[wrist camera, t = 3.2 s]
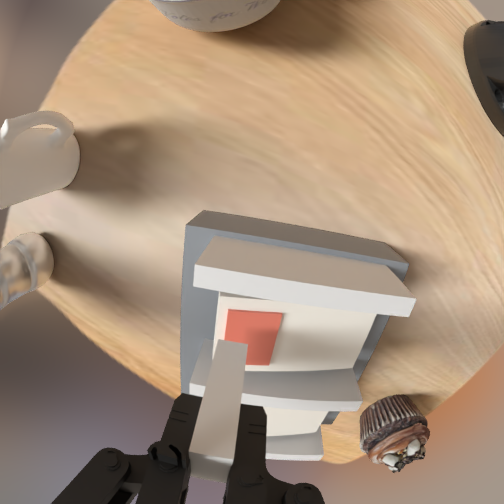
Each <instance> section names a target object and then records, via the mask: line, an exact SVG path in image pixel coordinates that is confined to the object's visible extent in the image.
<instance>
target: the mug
mask: <svg viewBox="0 0 504 504" xmlns="http://www.w3.org/2000/svg"><path fill="white" fill-rule="evenodd" d="M41 124H49V125H53V126H55V127H57V129H48V128H31V127H33V126H36V125H41ZM74 132H75V128H74V125H73V123H72V122H71V121H70V120H69V119H68V118H66V117H65V116H64V115H62V114H61V113H58V112H55V111H39V112H33V113H29V114H26V115H23V116H19V117H16V118H13V119H6V120H5V122H4V124H3V126H2V128H0V210H1V209H4V208H6V207H9V206H11V205H14V204H17V203H20V202H23V201H25V200H28V199H31V198H34V197H37V196H40V195H44V194H47V193H50V192H53V191H56V190H59V189H62V188H64V187H66V186H68V185H69V184H70V183H71V182H72V181H73V179H74V177H75V176H76V173H77V171H78V167H79V162H80V149H79V145H78V142H77V140H76V138H75V136H74V135H73V133H74Z"/></svg>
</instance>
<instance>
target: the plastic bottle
mask: <svg viewBox="0 0 504 504" xmlns="http://www.w3.org/2000/svg"><path fill="white" fill-rule="evenodd" d="M53 268H54V257H53V253H52V250H51V247H50V245H49V244H48V242H47V241H46V240H45V239H44V238H43V237H42V236H41V235H38V234H36V233H33V232H30V233H25V234H20V235H19V236H17V237H16V238H15V239H13V240H12V241H10V242H9V243H8V244H7V245H6V246H5V247H3V248H2V249H0V310H1V309H2V308H3V307H5V306H6V305H7V304H8V303H10V302H11V301H13V300H15V299H17V298H18V297H20V296H22V295H23V294H25V293H28V292H30V291H33V290H35V289H37V288H39V287H41V286H43V285H44V284H45V283H46V281H47V280H48V279H49V278H50V277H51V275H52V272H53Z"/></svg>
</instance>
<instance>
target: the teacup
mask: <svg viewBox="0 0 504 504" xmlns="http://www.w3.org/2000/svg"><path fill="white" fill-rule="evenodd" d="M149 1H150V2H151V3H152V4H153V5H154V6H155V7H156V8H157V9H158V10H159V11H160V12H161V13H162V14H163V15H164V16H166V17H167V18H168V19H169V20H171V21H172V22H174V23H175V24H177V25H179V26H181V27H184V28H186V29H190V30H194V31H201V32H221V31H228V30H233V29H237V28H241V27H244V26H246V25H249V24H251V23H254V22H256V21H258V20H260V19H261V18H263V17H264V16H266V15H267V14H268V13H270V12H271V11H272V10H273V9H274V8H275V7H276V6H277V5H278V3H279V2H280V0H149Z"/></svg>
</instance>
